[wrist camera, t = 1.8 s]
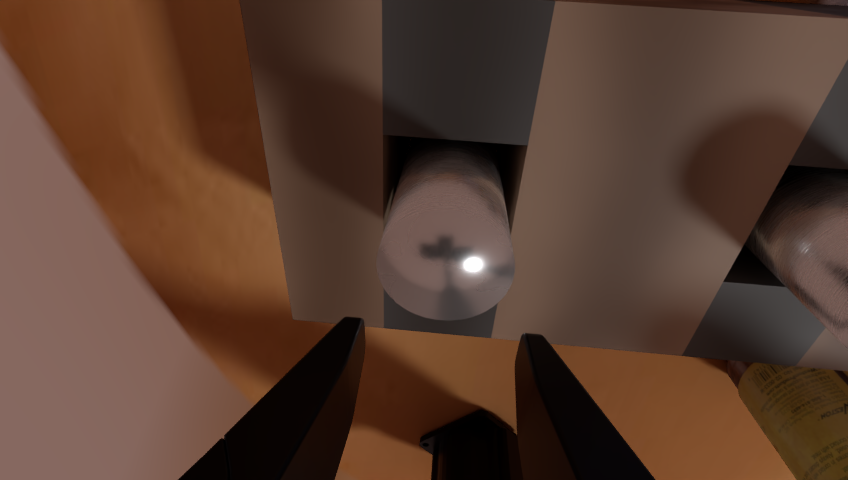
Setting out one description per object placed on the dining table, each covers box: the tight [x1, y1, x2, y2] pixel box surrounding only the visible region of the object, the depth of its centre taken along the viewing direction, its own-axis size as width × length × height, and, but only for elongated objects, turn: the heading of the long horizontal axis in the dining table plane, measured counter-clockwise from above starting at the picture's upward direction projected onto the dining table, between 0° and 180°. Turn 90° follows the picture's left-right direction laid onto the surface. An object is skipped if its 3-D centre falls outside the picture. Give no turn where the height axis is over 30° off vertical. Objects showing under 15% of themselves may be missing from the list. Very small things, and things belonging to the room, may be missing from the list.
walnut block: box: [240, 0, 848, 371], centre depth 17 cm, size 24×12×7 cm, turn 87°
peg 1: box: [376, 137, 515, 321], centre depth 14 cm, size 4×4×7 cm
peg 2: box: [744, 165, 848, 349], centre depth 14 cm, size 4×4×7 cm
